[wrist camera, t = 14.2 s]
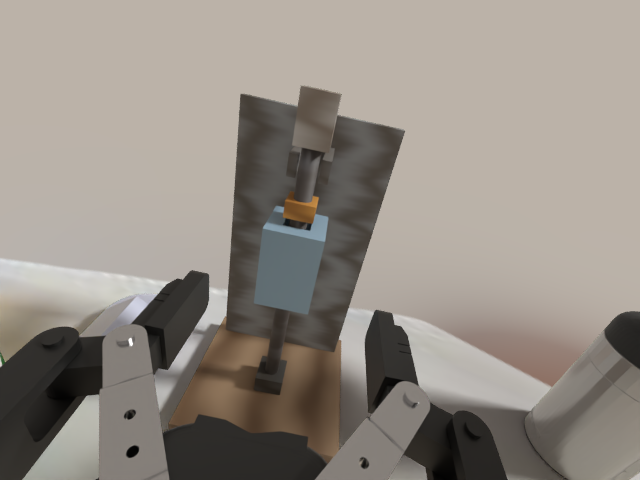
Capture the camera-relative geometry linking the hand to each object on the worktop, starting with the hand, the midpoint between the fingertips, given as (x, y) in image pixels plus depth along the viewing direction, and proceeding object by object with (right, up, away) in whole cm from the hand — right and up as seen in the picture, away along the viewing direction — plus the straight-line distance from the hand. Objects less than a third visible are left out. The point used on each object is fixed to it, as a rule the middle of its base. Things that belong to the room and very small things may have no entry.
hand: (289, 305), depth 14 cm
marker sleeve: (-2, -2, +16) cm, 16 cm away
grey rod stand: (-5, -16, +24) cm, 29 cm away
